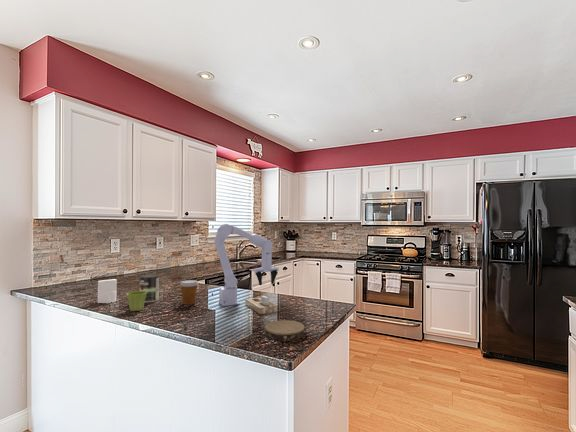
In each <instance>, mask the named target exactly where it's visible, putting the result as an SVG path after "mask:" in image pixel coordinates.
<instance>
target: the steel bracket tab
mask: <svg viewBox="0 0 576 432" xmlns="http://www.w3.org/2000/svg"><path fill="white" fill-rule="evenodd" d="M260 297H261V305H262V306H264V307H265V306H268V301H269V296H266V295H260Z"/></svg>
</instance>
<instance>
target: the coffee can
mask: <svg viewBox="0 0 576 432" xmlns="http://www.w3.org/2000/svg"><path fill="white" fill-rule="evenodd" d="M159 281H160V275H159V274H155V273H153V274H143V275H142V274H141V275H140V276H139V290H138V291H146V292H147V293H146V296H145V301H144V304H145V303H153V302H156V301H159V292H160V291H159V289H160V286H159V285H160V282H159Z"/></svg>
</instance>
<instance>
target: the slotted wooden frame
mask: <svg viewBox="0 0 576 432" xmlns="http://www.w3.org/2000/svg"><path fill="white" fill-rule="evenodd" d="M244 302H245V306H247V307H249V308H250V309H252V310H253V311H255V312H256V313H257V314H259V315H264V314H271V313H272V314H273V313H276V312H277V311H278V310H277V309H278V307H277V305H276V304H274V303H272V302H271V301H269V300H268V306H265V307H264V306H262V305H261V296H260V297H252V298H245V300H244Z"/></svg>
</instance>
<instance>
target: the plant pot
mask: <svg viewBox="0 0 576 432" xmlns="http://www.w3.org/2000/svg"><path fill="white" fill-rule="evenodd" d="M146 293H147V292H146V291H139V290H135V291H130V292H126V296H127V299H128V306H129V311H130V312H136V311H137V312H138V311H142V310H143V309H144V306H145V303H144V301H145V296H146Z"/></svg>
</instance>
